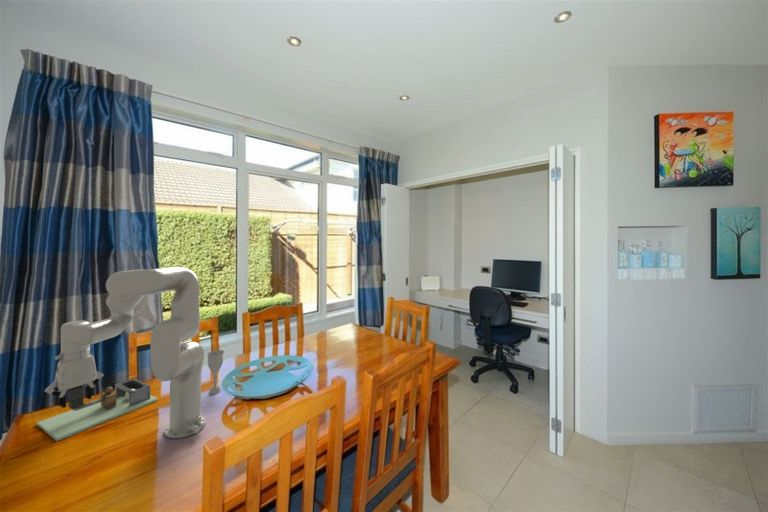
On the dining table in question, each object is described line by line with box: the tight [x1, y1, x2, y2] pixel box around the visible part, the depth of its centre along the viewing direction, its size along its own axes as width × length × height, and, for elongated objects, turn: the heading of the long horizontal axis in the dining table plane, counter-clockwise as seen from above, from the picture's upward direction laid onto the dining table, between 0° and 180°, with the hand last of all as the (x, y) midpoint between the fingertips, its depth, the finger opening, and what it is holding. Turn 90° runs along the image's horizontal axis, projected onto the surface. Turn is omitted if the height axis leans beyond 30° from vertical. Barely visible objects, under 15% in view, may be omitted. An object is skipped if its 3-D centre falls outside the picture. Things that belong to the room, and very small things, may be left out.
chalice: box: [206, 349, 225, 395], centre depth 135 cm, size 7×7×18 cm
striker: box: [68, 385, 116, 411], centre depth 114 cm, size 5×12×12 cm, turn 153°
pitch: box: [36, 394, 159, 442], centre depth 117 cm, size 18×30×1 cm, turn 153°
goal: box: [114, 378, 151, 406], centre depth 126 cm, size 13×7×7 cm, turn 63°
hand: (76, 401), depth 110 cm, fingers open, 6 cm apart
